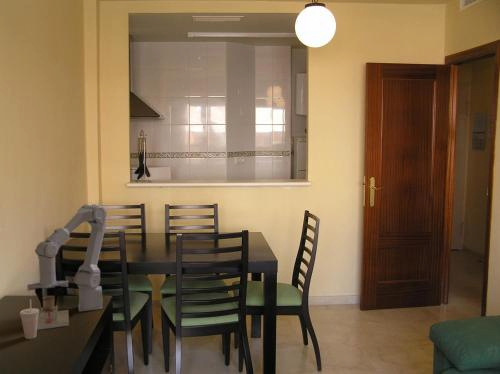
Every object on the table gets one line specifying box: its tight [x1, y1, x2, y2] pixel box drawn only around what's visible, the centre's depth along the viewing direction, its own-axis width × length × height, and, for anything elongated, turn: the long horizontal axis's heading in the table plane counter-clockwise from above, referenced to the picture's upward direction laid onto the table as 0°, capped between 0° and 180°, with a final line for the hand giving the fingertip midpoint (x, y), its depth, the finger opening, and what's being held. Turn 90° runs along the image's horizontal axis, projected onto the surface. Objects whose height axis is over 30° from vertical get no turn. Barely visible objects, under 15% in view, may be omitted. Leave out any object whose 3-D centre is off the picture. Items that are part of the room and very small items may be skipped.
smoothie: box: [19, 298, 40, 340], centre depth 167 cm, size 6×6×14 cm
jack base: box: [37, 304, 70, 331], centre depth 181 cm, size 14×14×6 cm
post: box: [43, 295, 55, 311], centre depth 181 cm, size 4×4×8 cm
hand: (49, 306), depth 181 cm, fingers closed on post, 4 cm apart
